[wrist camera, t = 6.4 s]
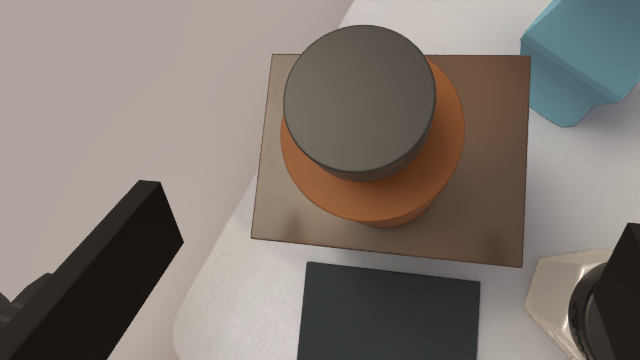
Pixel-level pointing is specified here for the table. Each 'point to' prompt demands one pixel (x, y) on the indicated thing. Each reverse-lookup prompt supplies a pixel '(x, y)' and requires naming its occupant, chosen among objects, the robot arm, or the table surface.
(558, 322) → the jar
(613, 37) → the blue doll chair
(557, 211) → the table surface
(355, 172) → the spice bottle
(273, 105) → the block
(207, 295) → the table surface
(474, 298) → the mat
